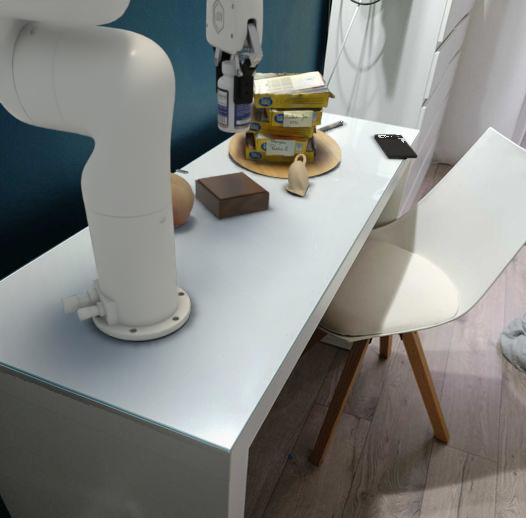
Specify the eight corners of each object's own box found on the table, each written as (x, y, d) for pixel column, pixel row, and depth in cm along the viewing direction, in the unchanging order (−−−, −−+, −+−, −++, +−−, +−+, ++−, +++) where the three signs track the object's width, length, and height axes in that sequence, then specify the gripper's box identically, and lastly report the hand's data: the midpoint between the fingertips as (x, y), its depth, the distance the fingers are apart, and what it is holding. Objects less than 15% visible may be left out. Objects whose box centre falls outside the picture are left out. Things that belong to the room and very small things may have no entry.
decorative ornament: (282, 194, 97) (284, 166, 93) (292, 178, 103) (295, 152, 99) (303, 197, 96) (306, 170, 93) (311, 181, 102) (315, 155, 99)
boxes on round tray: (335, 184, 102) (350, 95, 91) (217, 169, 104) (217, 80, 93) (342, 145, 120) (354, 67, 110) (241, 133, 123) (243, 55, 112)
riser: (219, 219, 87) (219, 200, 85) (195, 196, 94) (194, 178, 91) (268, 209, 91) (269, 190, 89) (242, 188, 98) (243, 170, 95)
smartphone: (417, 158, 116) (400, 137, 127) (418, 154, 115) (400, 132, 126) (388, 158, 115) (373, 137, 127) (389, 154, 115) (374, 132, 126)
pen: (345, 118, 133) (340, 120, 134) (316, 129, 124) (312, 131, 125) (346, 122, 133) (341, 124, 134) (318, 133, 124) (313, 135, 125)
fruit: (138, 227, 83) (133, 180, 78) (162, 208, 89) (158, 163, 84) (182, 237, 81) (179, 190, 76) (202, 217, 87) (202, 172, 82)
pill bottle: (251, 125, 86) (254, 60, 79) (248, 135, 82) (250, 67, 75) (220, 122, 86) (220, 57, 79) (215, 132, 82) (215, 64, 75)
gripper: (186, -51, 73) (190, 86, 85) (241, -40, 62) (238, 116, 74) (232, -49, 76) (230, 83, 88) (292, -38, 65) (281, 111, 77)
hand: (233, 97), depth 80 cm, fingers closed on pill bottle, 5 cm apart
